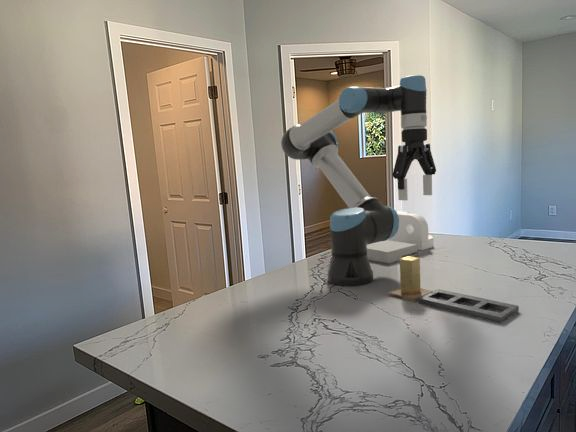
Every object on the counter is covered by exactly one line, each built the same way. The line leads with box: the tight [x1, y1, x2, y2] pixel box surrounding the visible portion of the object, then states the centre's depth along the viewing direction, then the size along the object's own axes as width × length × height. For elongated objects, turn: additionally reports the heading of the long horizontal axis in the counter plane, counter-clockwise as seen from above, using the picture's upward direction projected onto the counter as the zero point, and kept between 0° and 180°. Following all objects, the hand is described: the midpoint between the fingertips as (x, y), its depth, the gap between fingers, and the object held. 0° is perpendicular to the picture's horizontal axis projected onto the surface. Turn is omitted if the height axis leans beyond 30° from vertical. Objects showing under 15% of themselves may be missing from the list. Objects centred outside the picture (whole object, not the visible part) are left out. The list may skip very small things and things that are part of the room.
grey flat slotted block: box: [418, 288, 519, 324], centre depth 115 cm, size 22×10×2 cm, turn 41°
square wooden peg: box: [399, 256, 421, 295], centre depth 127 cm, size 4×4×10 cm
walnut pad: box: [388, 287, 434, 303], centre depth 128 cm, size 9×9×1 cm
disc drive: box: [367, 240, 418, 264], centre depth 178 cm, size 18×22×5 cm
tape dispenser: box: [387, 210, 434, 251], centre depth 191 cm, size 12×18×14 cm, turn 38°
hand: (415, 197), depth 137 cm, fingers open, 13 cm apart
